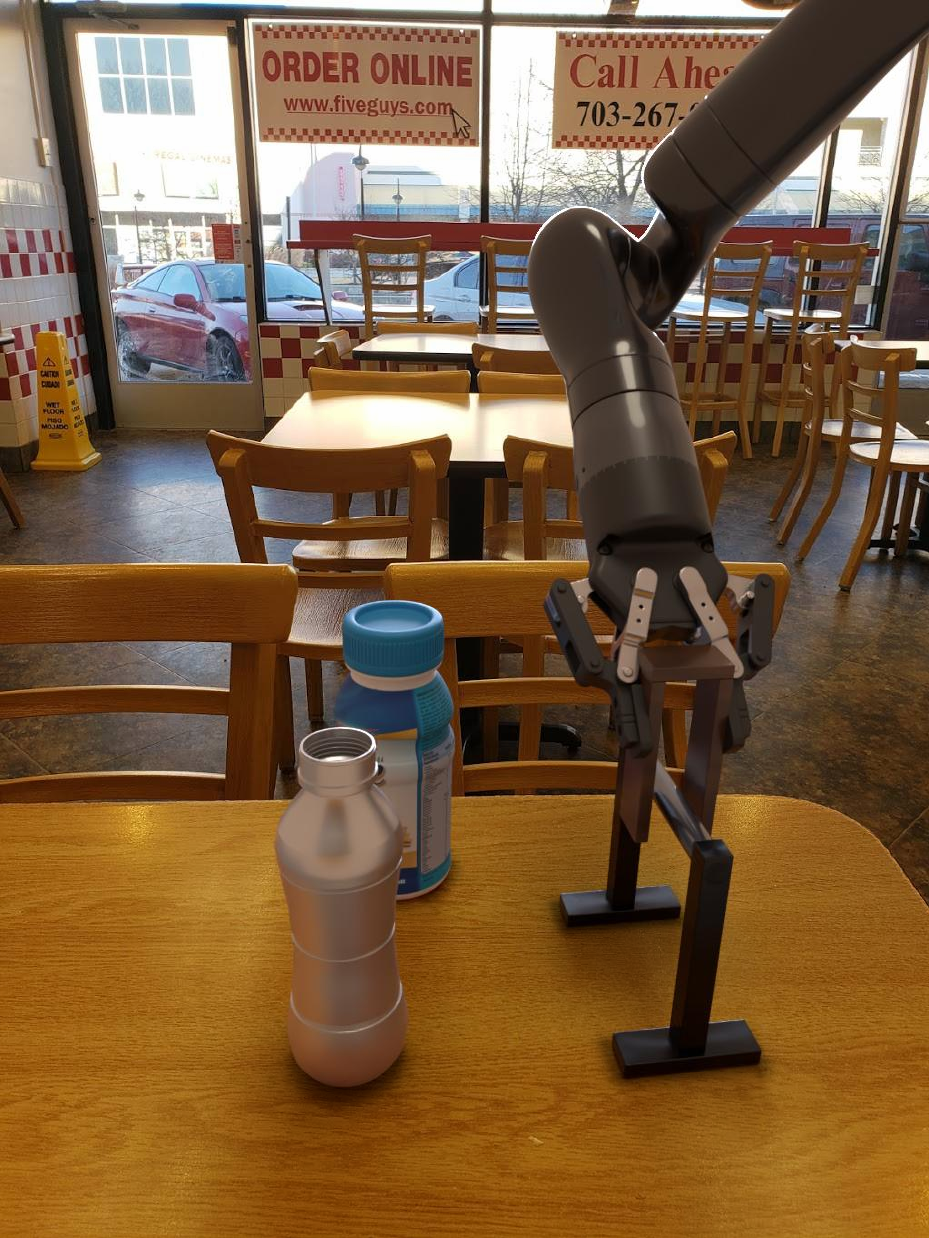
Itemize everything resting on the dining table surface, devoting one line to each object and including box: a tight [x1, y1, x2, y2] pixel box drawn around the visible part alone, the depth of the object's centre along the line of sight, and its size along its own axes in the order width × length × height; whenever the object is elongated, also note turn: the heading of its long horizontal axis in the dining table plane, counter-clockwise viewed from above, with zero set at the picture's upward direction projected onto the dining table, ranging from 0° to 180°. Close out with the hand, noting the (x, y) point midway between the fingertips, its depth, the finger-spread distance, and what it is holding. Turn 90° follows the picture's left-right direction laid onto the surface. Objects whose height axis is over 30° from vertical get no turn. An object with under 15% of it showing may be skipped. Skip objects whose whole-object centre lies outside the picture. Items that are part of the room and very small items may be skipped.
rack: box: [558, 744, 763, 1079], centre depth 57 cm, size 8×15×14 cm, turn 8°
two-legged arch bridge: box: [620, 644, 735, 844], centre depth 53 cm, size 5×3×11 cm, turn 98°
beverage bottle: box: [333, 599, 456, 901], centre depth 66 cm, size 8×8×20 cm
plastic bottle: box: [273, 726, 409, 1088], centre depth 49 cm, size 6×7×20 cm
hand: (688, 751), depth 51 cm, fingers closed on two-legged arch bridge, 4 cm apart
